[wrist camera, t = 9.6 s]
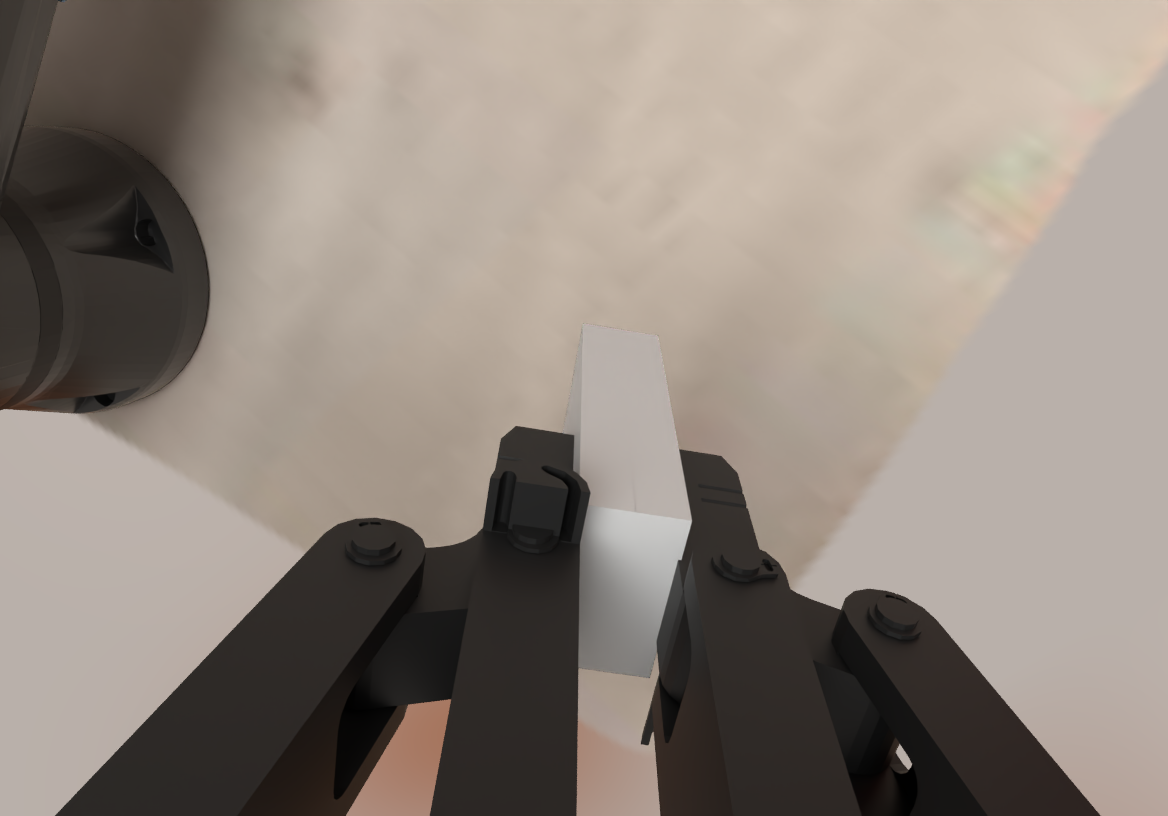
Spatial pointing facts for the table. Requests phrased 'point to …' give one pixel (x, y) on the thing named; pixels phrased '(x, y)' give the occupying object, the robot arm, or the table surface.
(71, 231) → the robot arm
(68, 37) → the table surface
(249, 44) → the table surface
